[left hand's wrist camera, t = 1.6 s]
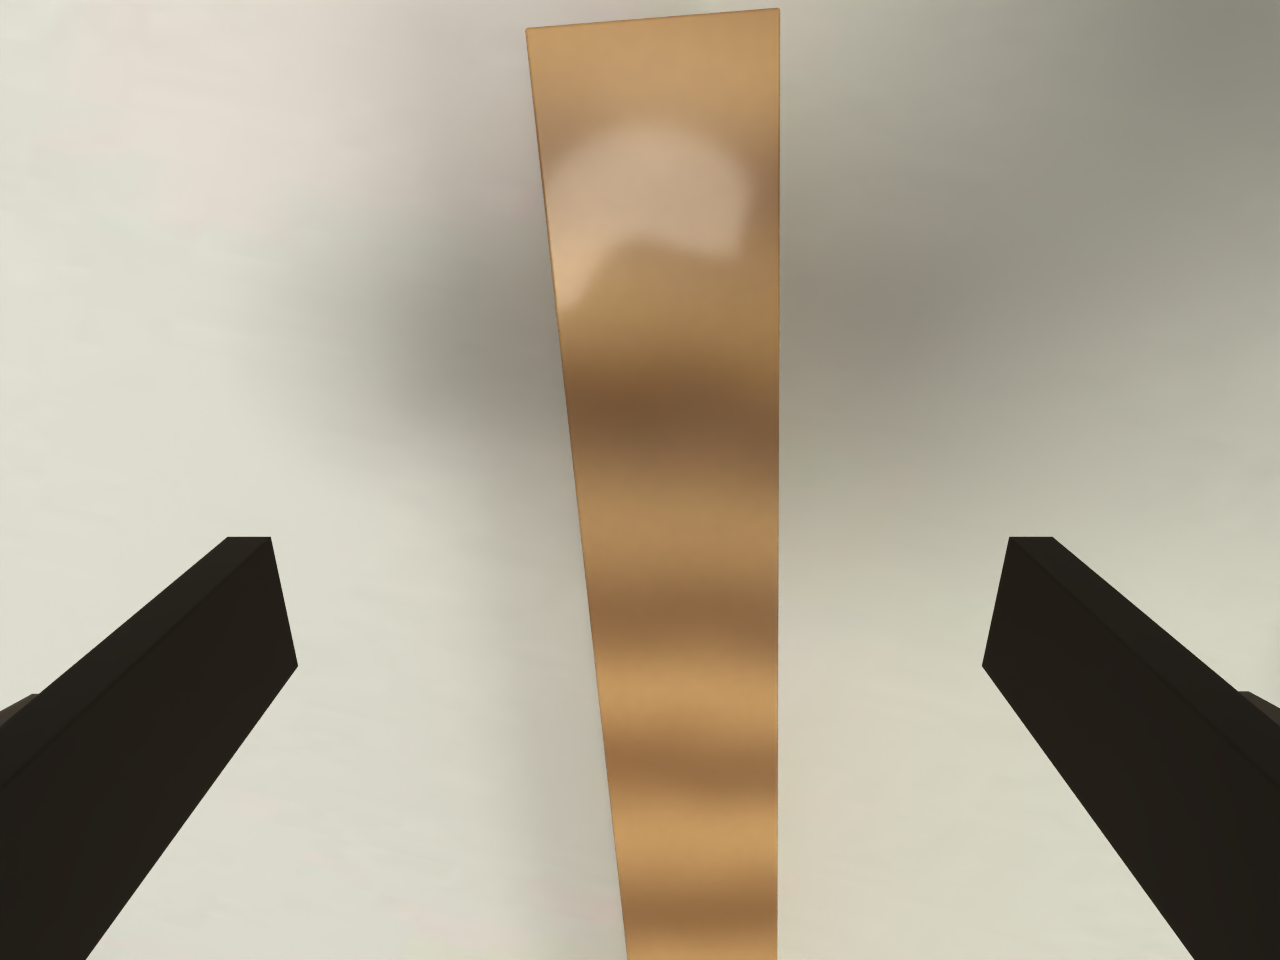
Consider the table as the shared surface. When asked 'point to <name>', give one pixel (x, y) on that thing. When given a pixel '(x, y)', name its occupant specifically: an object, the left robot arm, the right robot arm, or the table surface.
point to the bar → (675, 447)
